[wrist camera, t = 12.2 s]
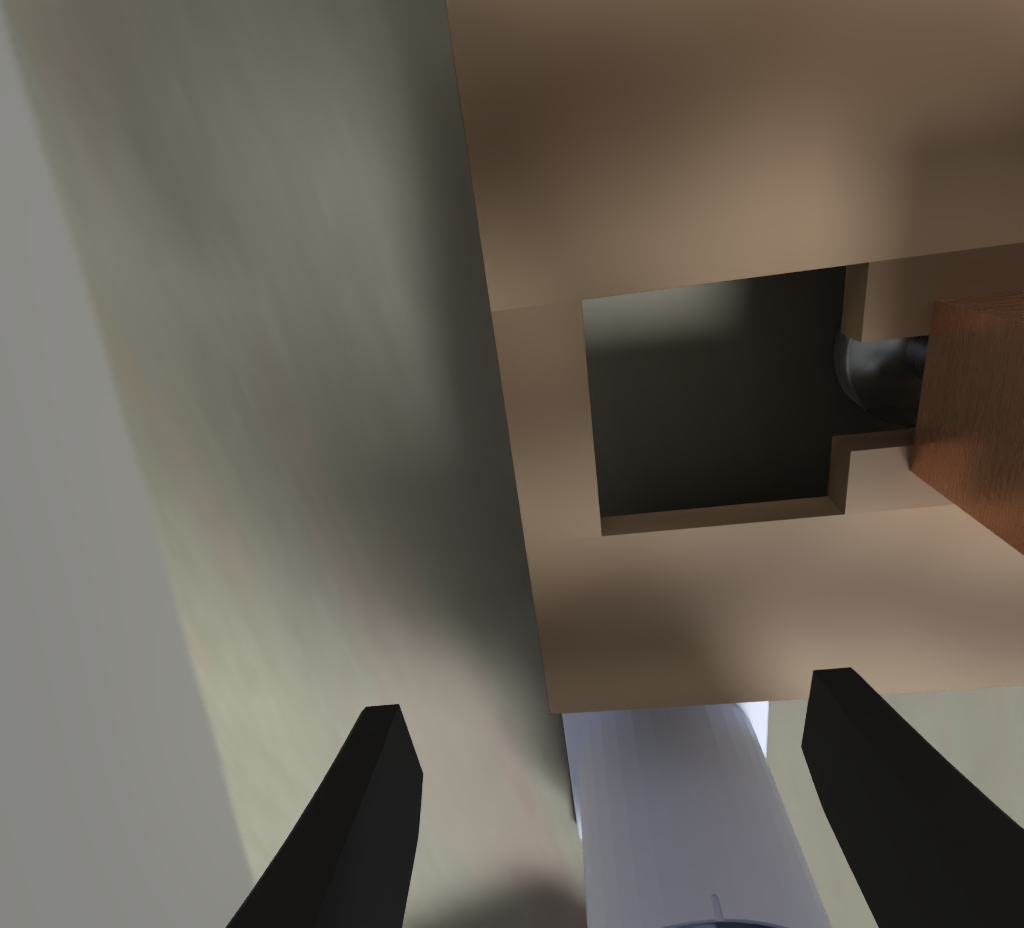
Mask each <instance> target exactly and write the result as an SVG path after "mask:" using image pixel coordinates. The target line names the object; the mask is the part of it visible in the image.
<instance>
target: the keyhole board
mask: <svg viewBox="0 0 1024 928" xmlns="http://www.w3.org/2000/svg"><path fill="white" fill-rule="evenodd" d="M445 2H446V8H447V15H448V22H449V29H450V36H451V43H452V49H453V56H454V63H455V70H456V77H457V83H458V90H459V97H460V104H461V111H462V118H463V124H464V131H465V138H466V145H467V152H468V158H469V165H470V172H471V179H472V186H473V193H474V199H475V206H476V213H477V220H478V227H479V233H480V240H481V247H482V254H483V261H484V268H485V274H486V281H487V288H488V295H489V302H490V308H491V315H492V322H493V329H494V336H495V343H496V349H497V356H498V363H499V370H500V377H501V383H502V390H503V397H504V404H505V411H506V417H507V424H508V431H509V438H510V445H511V452H512V458H513V465H514V472H515V479H516V486H517V492H518V499H519V506H520V513H521V520H522V527H523V533H524V540H525V547H526V554H527V561H528V567H529V574H530V581H531V588H532V595H533V602H534V608H535V615H536V622H537V629H538V636H539V642H540V649H541V656H542V663H543V670H544V677H545V683H546V690H547V697H548V704H549V711H550V714H565V713H581V712H597V711H614V710H630V709H647V708H663V707H680V706H696V705H713V704H729V703H745V702H762V701H778V700H795V699H809V694H810V688H811V681H812V675H813V670H822V669H834V668H846V667H851V668H852V669H854V670H855V671H856V672H857V673H858V674H859V675H860V676H861V677H862V678H863V679H864V680H865V681H866V682H867V683H868V684H869V685H870V686H871V687H872V688H873V689H874V690H875V691H876V692H877V693H878V694H893V693H910V692H926V691H943V690H959V689H975V688H992V687H1008V686H1024V555H1022V554H1021V553H1020V552H1018V551H1017V550H1016V549H1014V548H1013V547H1012V546H1010V545H1009V544H1008V543H1006V542H1005V541H1003V540H1002V539H1001V538H999V537H998V536H997V535H995V534H994V533H993V532H991V531H990V530H989V529H987V528H986V527H985V526H983V525H982V524H981V523H979V522H978V521H977V520H975V519H974V518H973V517H971V516H970V515H968V514H967V513H966V512H964V511H963V510H962V509H960V508H959V507H958V506H956V505H955V504H954V503H952V502H951V501H950V500H948V499H947V498H946V497H944V496H943V495H942V494H940V493H939V492H938V491H936V490H935V489H933V488H932V487H931V486H929V485H928V484H927V483H925V482H924V481H923V480H921V479H920V478H919V477H917V476H916V475H915V474H913V473H912V472H911V471H910V466H911V459H912V452H913V445H914V438H915V431H916V428H909V429H899V430H889V431H879V432H870V433H860V434H850V435H840V436H832V448H831V460H830V473H829V485H828V496H825V497H814V498H803V499H793V500H782V501H771V502H761V503H750V504H739V505H728V506H718V507H707V508H696V509H685V510H675V511H664V512H653V513H643V514H632V515H621V516H610V517H600V510H599V498H598V487H597V476H596V464H595V453H594V441H593V430H592V418H591V407H590V396H589V384H588V373H587V361H586V350H585V338H584V327H583V315H582V304H581V300H583V299H591V298H599V297H606V296H614V295H622V294H630V293H637V292H645V291H653V290H660V289H668V288H676V287H683V286H691V285H699V284H706V283H714V282H722V281H729V280H737V279H745V278H753V277H760V276H768V275H776V274H783V273H791V272H799V271H806V270H814V269H822V268H829V267H837V266H845V265H846V277H845V289H844V301H843V314H842V326H841V334H843V335H845V336H847V337H849V338H852V339H854V340H856V341H858V342H860V343H865V342H874V341H882V340H891V339H899V338H908V337H916V336H925V335H929V332H930V325H931V318H932V311H933V304H934V300H942V299H951V298H959V297H967V296H976V295H984V294H992V293H1001V292H1009V291H1017V290H1024V0H445Z"/></svg>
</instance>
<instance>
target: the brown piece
mask: <svg viewBox="0 0 1024 928" xmlns="http://www.w3.org/2000/svg"><path fill="white" fill-rule="evenodd" d="M841 326H842V323H841ZM841 326H840V328H839V330H838V334H837V337H836V341H835V347H834V365H835V371H836V375H837V378H838V380H839V383H840V385H841V387H842V388H843V390H844V391H845V392H846V394H847V395H848V396H849V397H850V398H851V399H852V400H853V401H854V402H856V403H857V404H858V405H860V406H861V407H863V408H864V409H866V410H867V411H869V412H871V413H872V414H874V415H875V416H877V417H879V418H880V419H882V420H884V421H887V422H889V423H892V424H896V425H901V426H909V427H916V431H915V438H914V445H913V452H912V459H911V466H910V471H911V472H912V473H913V474H915V475H916V476H917V477H919V478H920V479H921V480H923V481H924V482H925V483H927V484H928V485H929V486H931V487H932V488H933V489H935V490H936V491H938V492H939V493H940V494H942V495H943V496H944V497H946V498H947V499H948V500H950V501H951V502H952V503H954V504H955V505H956V506H958V507H959V508H960V509H962V510H963V511H964V512H966V513H967V514H968V515H970V516H971V517H973V518H974V519H975V520H977V521H978V522H979V523H981V524H982V525H983V526H985V527H986V528H987V529H989V530H990V531H991V532H993V533H994V534H995V535H997V536H998V537H999V538H1001V539H1002V540H1003V541H1005V542H1006V543H1008V544H1009V545H1010V546H1012V547H1013V548H1014V549H1016V550H1017V551H1018V552H1020V553H1021V554H1022V555H1024V290H1017V291H1009V292H1001V293H992V294H984V295H976V296H967V297H959V298H951V299H942V300H934V304H933V311H932V318H931V325H930V332H929V335H925V336H916V337H908V338H899V339H891V340H882V341H874V342H865V343H860V342H858V341H856V340H854V339H852V338H849V337H847V336H845V335H843V334H841Z"/></svg>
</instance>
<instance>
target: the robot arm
mask: <svg viewBox="0 0 1024 928" xmlns="http://www.w3.org/2000/svg"><path fill="white" fill-rule="evenodd" d="M768 713H769V701H762V702H745V703H729V704H713V705H696V706H680V707H663V708H647V709H630V710H614V711H597V712H581V713H565V714H562V717H563V725H564V732H565V739H566V747H567V754H568V761H569V769H570V776H571V783H572V791H573V798H574V805H575V813H576V820H577V827H578V835H579V838H580V840H582V845H583V863H584V880H585V898H586V915H587V928H832V926H831V923H830V921H829V918H828V916H827V913H826V911H825V908H824V906H823V903H822V900H821V898H820V895H819V893H818V890H817V888H816V885H815V883H814V880H813V878H812V875H811V873H810V870H809V867H808V865H807V862H806V860H805V857H804V855H803V852H802V850H801V847H800V845H799V842H798V840H797V837H796V835H795V832H794V829H793V827H792V824H791V822H790V819H789V817H788V814H787V812H786V809H785V807H784V804H783V802H782V799H781V796H780V794H779V791H778V789H777V786H776V784H775V781H774V779H773V776H772V774H771V771H770V769H769V766H768V763H767V761H766V757H767V735H768ZM801 747H802V750H803V753H804V756H805V759H806V762H807V765H808V768H809V771H810V774H811V777H812V780H813V783H814V785H815V788H816V791H817V794H818V796H819V799H820V802H821V805H822V807H823V810H824V812H825V815H826V817H827V819H828V821H829V823H830V825H831V828H832V830H833V832H834V834H835V836H836V838H837V840H838V842H839V845H840V847H841V849H842V851H843V853H844V855H845V857H846V860H847V862H848V864H849V866H850V868H851V870H852V872H853V874H854V876H855V879H856V881H857V883H858V885H859V887H860V889H861V891H862V893H863V895H864V897H865V900H866V902H867V904H868V906H869V908H870V910H871V912H872V914H873V916H874V918H875V921H876V923H877V925H878V927H879V928H1024V829H1023V828H1022V827H1020V826H1019V825H1018V824H1017V823H1016V822H1015V821H1013V820H1012V819H1011V818H1010V817H1009V816H1008V815H1007V814H1006V813H1004V812H1003V811H1002V810H1001V809H1000V808H999V807H998V806H996V805H995V804H994V803H993V802H992V801H991V800H990V799H989V798H988V797H986V796H985V795H984V794H983V793H982V792H981V791H980V790H979V789H978V788H977V787H976V786H974V785H973V784H972V783H971V782H970V781H969V780H968V779H967V778H966V777H965V776H964V775H962V774H961V773H960V772H959V771H958V770H957V769H956V768H955V767H954V766H953V765H952V764H950V763H949V762H948V761H947V760H946V759H945V758H944V757H943V756H942V755H941V754H940V753H939V752H938V751H937V750H936V749H934V748H933V747H932V746H931V745H930V744H929V743H928V742H927V741H926V740H925V739H924V738H923V737H922V736H921V735H920V734H919V733H918V732H917V731H916V730H915V729H914V728H913V727H912V726H911V725H910V724H909V723H908V722H906V721H905V720H904V719H903V718H902V717H901V716H900V715H899V714H898V713H897V712H896V711H895V710H894V709H893V708H892V707H891V706H890V705H889V704H888V703H887V702H886V701H885V700H884V699H883V698H882V697H881V696H880V695H879V694H878V693H877V692H876V691H875V690H874V689H873V688H872V687H871V686H870V685H869V684H868V683H867V682H866V681H865V680H864V679H863V678H862V677H861V676H860V675H859V674H858V673H857V672H856V671H855V670H854V669H852V668H851V667H846V668H834V669H822V670H813V675H812V681H811V688H810V694H809V701H808V707H807V713H806V720H805V726H804V733H803V739H802V745H801ZM422 783H423V772H422V769H421V766H420V763H419V760H418V758H417V755H416V752H415V749H414V746H413V743H412V740H411V737H410V734H409V732H408V729H407V726H406V723H405V720H404V717H403V714H402V711H401V708H400V706H399V704H394V705H382V706H370V707H366V708H365V709H364V710H363V711H362V712H361V714H360V716H359V717H358V719H357V721H356V723H355V725H354V726H353V728H352V730H351V732H350V734H349V735H348V737H347V739H346V741H345V743H344V744H343V746H342V748H341V750H340V752H339V753H338V755H337V757H336V758H335V760H334V762H333V764H332V765H331V767H330V769H329V771H328V772H327V774H326V776H325V777H324V779H323V781H322V782H321V784H320V786H319V788H318V789H317V791H316V792H315V794H314V796H313V797H312V799H311V801H310V802H309V804H308V805H307V807H306V809H305V810H304V812H303V813H302V815H301V817H300V818H299V820H298V822H297V823H296V825H295V826H294V828H293V830H292V831H291V833H290V834H289V836H288V837H287V839H286V841H285V842H284V844H283V845H282V847H281V848H280V850H279V851H278V853H277V854H276V856H275V857H274V859H273V860H272V862H271V863H270V864H269V866H268V867H267V869H266V870H265V872H264V873H263V875H262V876H261V878H260V879H259V881H258V882H257V884H256V885H255V887H254V888H253V890H252V891H251V893H250V894H249V896H248V897H247V898H246V900H245V901H244V903H243V904H242V905H241V907H240V908H239V910H238V911H237V912H236V914H235V915H234V917H233V918H232V919H231V921H230V922H229V924H228V925H227V926H226V928H402V924H403V918H404V913H405V908H406V902H407V897H408V891H409V886H410V880H411V875H412V869H413V864H414V858H415V852H416V847H417V841H418V834H419V822H420V811H421V798H422Z"/></svg>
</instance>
